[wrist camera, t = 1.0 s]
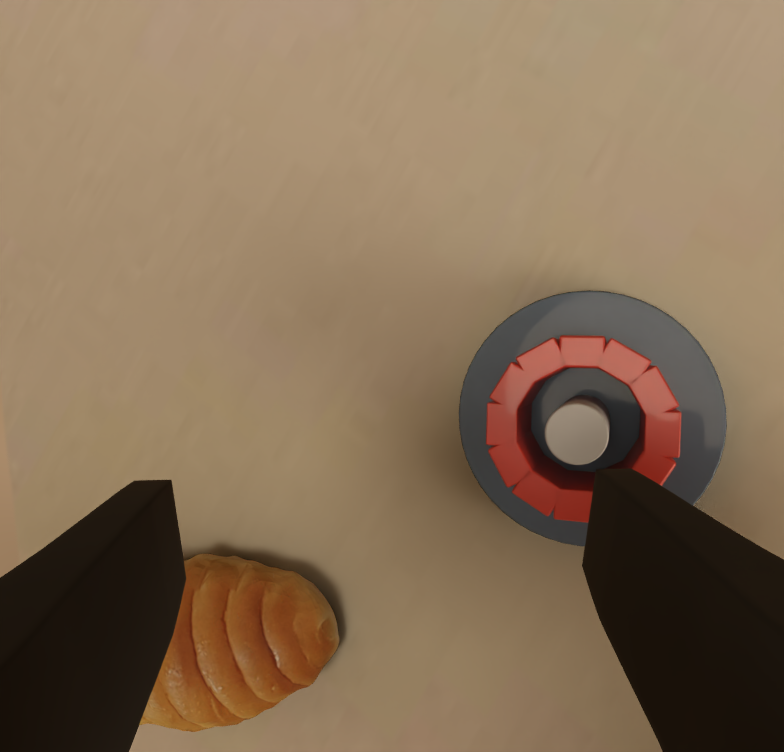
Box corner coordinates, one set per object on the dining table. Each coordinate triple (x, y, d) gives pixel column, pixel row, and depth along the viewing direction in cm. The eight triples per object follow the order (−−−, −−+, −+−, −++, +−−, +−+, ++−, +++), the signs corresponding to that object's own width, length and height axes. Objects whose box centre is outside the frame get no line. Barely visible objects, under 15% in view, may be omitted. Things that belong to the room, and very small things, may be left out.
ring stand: (778, 377, 20) (838, 382, 15) (627, 589, 22) (631, 664, 16) (544, 249, 23) (522, 212, 17) (422, 449, 24) (366, 475, 19)
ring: (704, 394, 20) (721, 400, 17) (611, 530, 21) (610, 560, 18) (557, 310, 22) (548, 300, 18) (476, 441, 23) (453, 454, 19)
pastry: (323, 524, 26) (276, 552, 22) (364, 696, 25) (322, 753, 22) (133, 560, 28) (64, 590, 25) (167, 714, 28) (101, 767, 25)
